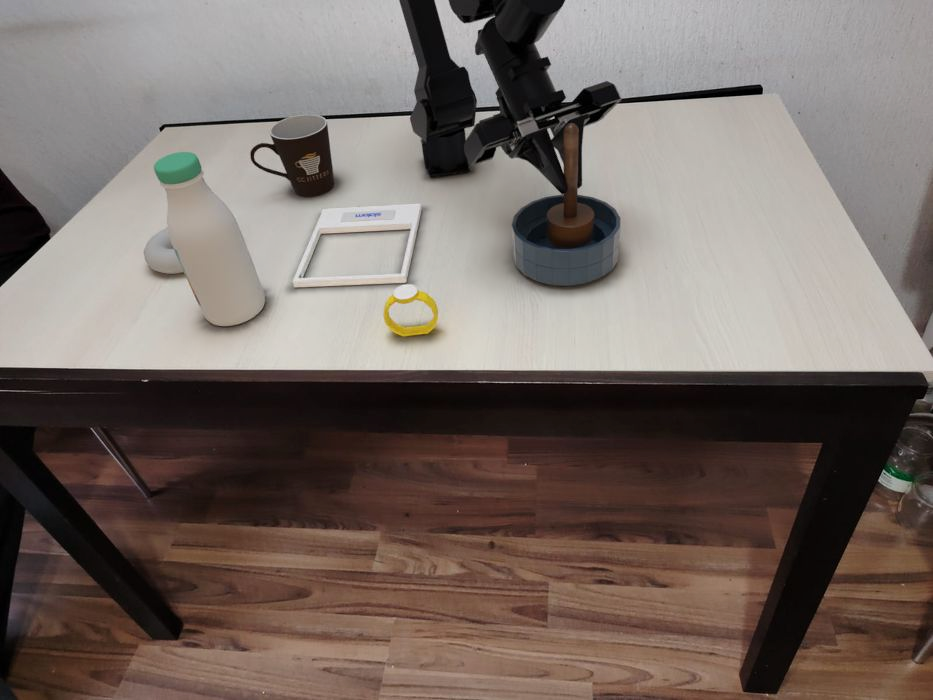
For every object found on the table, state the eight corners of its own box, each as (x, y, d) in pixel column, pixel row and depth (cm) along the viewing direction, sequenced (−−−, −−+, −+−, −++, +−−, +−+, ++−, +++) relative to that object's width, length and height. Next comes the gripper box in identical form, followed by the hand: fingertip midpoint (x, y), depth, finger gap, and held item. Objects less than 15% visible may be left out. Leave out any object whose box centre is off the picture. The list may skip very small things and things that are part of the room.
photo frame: (420, 202, 97) (404, 275, 83) (421, 209, 97) (406, 282, 84) (322, 207, 98) (291, 280, 85) (324, 214, 99) (294, 287, 86)
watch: (441, 322, 78) (434, 281, 74) (440, 338, 76) (433, 296, 72) (390, 326, 78) (380, 285, 74) (388, 342, 76) (378, 300, 72)
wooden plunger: (602, 239, 80) (607, 125, 71) (562, 253, 79) (562, 140, 69) (577, 218, 84) (579, 108, 75) (538, 232, 83) (535, 121, 73)
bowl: (601, 225, 90) (603, 188, 86) (631, 280, 80) (634, 241, 76) (506, 239, 89) (504, 202, 86) (524, 296, 80) (522, 258, 76)
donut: (194, 283, 89) (235, 241, 96) (183, 262, 87) (227, 220, 93) (134, 274, 92) (179, 234, 99) (123, 254, 90) (169, 214, 96)
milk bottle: (279, 296, 85) (226, 147, 71) (240, 333, 80) (176, 181, 66) (232, 285, 88) (173, 140, 74) (191, 320, 83) (121, 172, 69)
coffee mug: (346, 172, 109) (332, 112, 102) (334, 199, 102) (319, 137, 96) (277, 176, 110) (259, 117, 103) (262, 202, 104) (242, 142, 97)
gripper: (556, 81, 88) (604, 189, 88) (430, 121, 82) (482, 237, 82) (595, 32, 77) (650, 155, 77) (453, 74, 71) (512, 207, 71)
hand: (572, 190), depth 77 cm, fingers closed on wooden plunger
